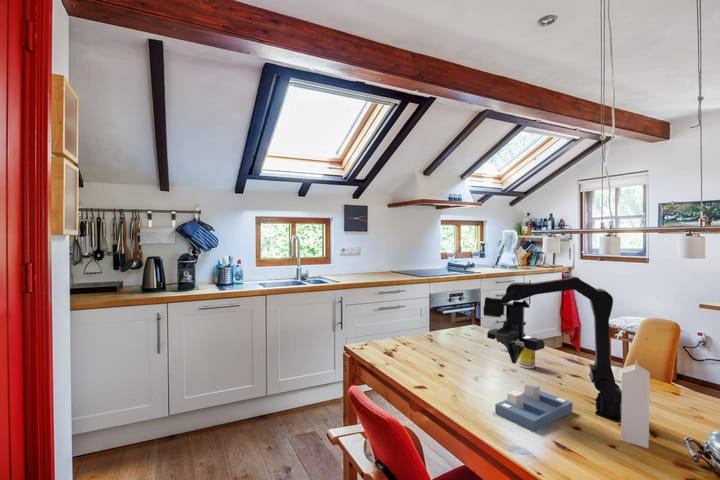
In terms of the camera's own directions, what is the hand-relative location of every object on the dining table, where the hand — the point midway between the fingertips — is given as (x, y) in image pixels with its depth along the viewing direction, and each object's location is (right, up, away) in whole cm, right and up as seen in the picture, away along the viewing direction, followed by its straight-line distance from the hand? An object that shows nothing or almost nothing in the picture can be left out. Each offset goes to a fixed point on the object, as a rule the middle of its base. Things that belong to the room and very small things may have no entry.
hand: (514, 363), depth 128 cm
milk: (+23, -13, -26) cm, 37 cm away
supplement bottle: (+19, -12, +31) cm, 38 cm away
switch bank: (+2, -12, -11) cm, 16 cm away
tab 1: (-4, -11, -11) cm, 16 cm away
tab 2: (+4, -11, -5) cm, 13 cm away
